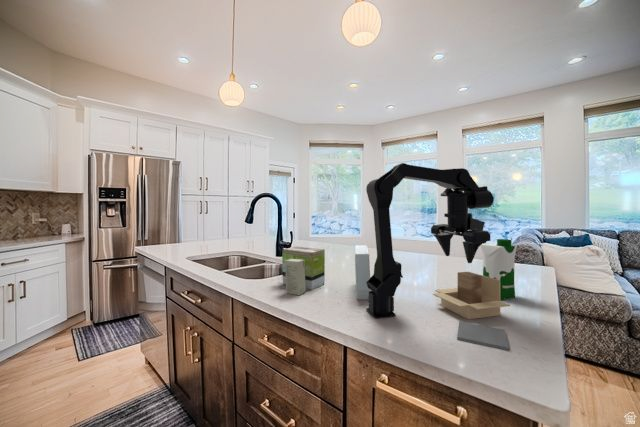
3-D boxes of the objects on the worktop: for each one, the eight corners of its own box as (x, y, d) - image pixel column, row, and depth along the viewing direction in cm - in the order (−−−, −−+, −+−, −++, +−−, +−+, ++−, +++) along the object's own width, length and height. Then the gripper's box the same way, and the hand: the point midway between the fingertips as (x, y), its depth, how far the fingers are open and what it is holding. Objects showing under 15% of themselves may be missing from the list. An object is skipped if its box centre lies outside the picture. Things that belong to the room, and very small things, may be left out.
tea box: (281, 284, 109) (281, 248, 108) (296, 279, 117) (296, 245, 117) (312, 290, 101) (311, 251, 100) (325, 284, 109) (325, 248, 109)
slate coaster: (457, 339, 62) (457, 336, 62) (459, 323, 71) (459, 321, 71) (509, 350, 57) (509, 347, 57) (504, 331, 66) (504, 329, 66)
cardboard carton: (468, 325, 70) (468, 287, 70) (426, 303, 86) (426, 272, 86) (510, 319, 73) (510, 283, 73) (462, 299, 90) (462, 269, 90)
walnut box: (470, 313, 77) (470, 276, 77) (457, 307, 82) (457, 272, 82) (481, 312, 78) (481, 275, 78) (468, 306, 83) (468, 271, 83)
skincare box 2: (355, 282, 111) (355, 244, 111) (368, 282, 110) (368, 245, 110) (355, 299, 90) (354, 253, 90) (371, 300, 90) (371, 253, 89)
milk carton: (501, 301, 87) (501, 241, 87) (477, 293, 96) (477, 238, 96) (520, 298, 90) (520, 239, 90) (494, 290, 99) (495, 237, 98)
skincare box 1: (306, 292, 98) (305, 259, 98) (299, 295, 94) (298, 261, 94) (292, 289, 101) (292, 258, 101) (285, 292, 98) (284, 260, 98)
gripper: (506, 210, 75) (505, 263, 77) (456, 206, 93) (457, 250, 95) (473, 213, 72) (474, 268, 74) (429, 209, 90) (430, 253, 92)
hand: (458, 259), depth 84 cm, fingers open, 9 cm apart
